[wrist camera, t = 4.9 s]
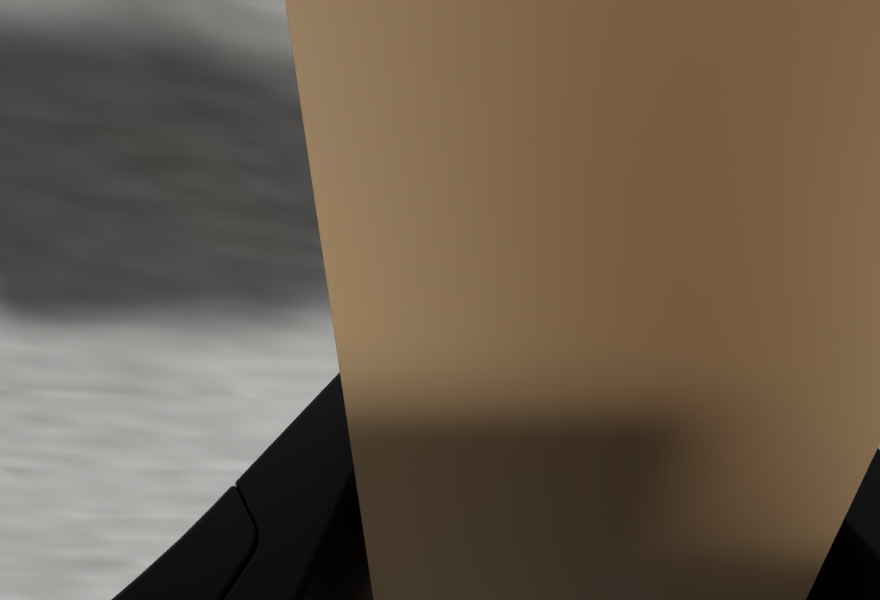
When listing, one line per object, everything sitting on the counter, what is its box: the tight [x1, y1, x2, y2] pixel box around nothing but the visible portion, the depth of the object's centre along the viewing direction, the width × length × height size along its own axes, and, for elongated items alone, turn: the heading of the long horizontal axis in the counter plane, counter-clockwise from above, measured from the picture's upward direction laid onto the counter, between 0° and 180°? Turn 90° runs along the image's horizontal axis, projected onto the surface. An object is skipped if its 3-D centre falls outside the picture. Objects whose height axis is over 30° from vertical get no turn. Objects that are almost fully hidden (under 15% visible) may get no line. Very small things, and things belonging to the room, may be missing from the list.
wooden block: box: [285, 0, 880, 600], centre depth 7 cm, size 4×10×5 cm, turn 2°
